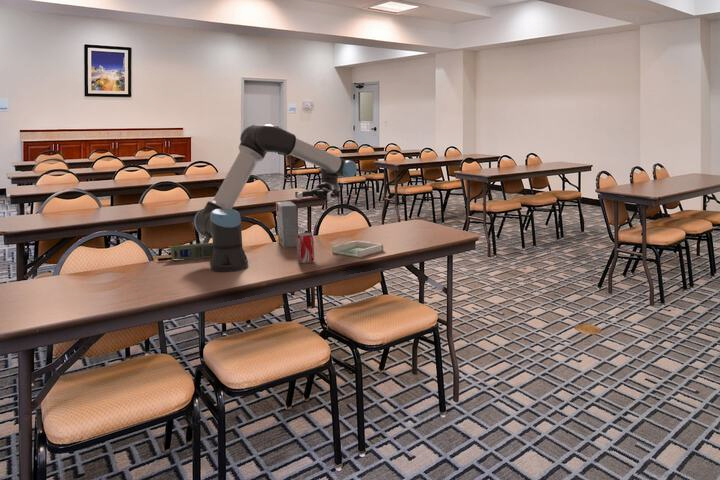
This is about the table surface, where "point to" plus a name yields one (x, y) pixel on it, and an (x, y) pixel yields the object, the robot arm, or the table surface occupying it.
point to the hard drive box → (287, 223)
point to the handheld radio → (190, 251)
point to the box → (357, 249)
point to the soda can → (305, 247)
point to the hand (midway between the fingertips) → (312, 196)
